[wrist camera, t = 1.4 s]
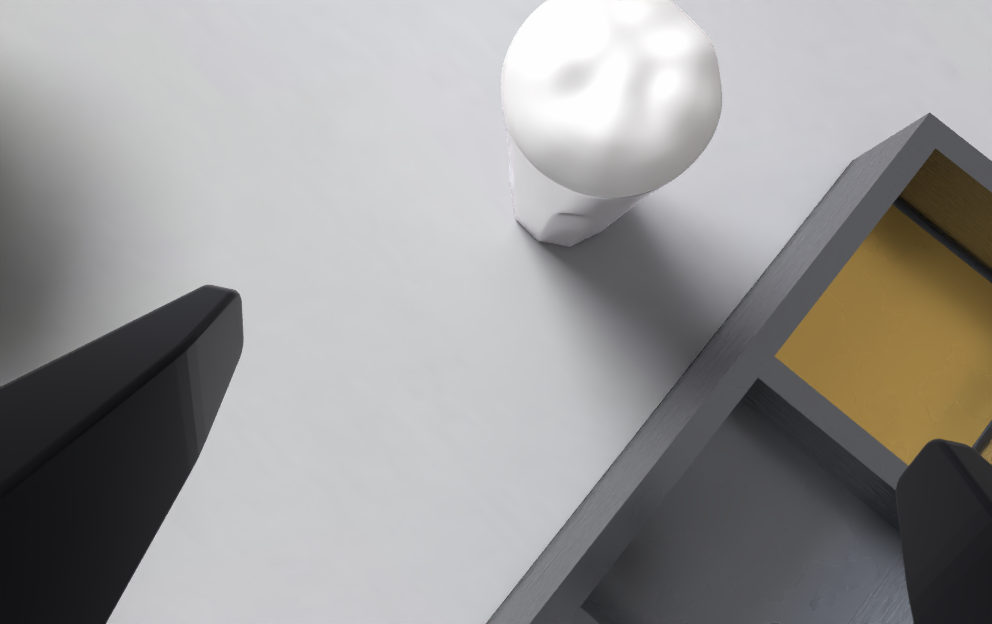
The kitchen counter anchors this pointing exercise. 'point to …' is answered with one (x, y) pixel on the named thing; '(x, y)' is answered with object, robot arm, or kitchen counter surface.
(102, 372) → the robot arm
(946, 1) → the kitchen counter surface
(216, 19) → the kitchen counter surface
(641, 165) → the milkshake
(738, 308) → the rack
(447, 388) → the kitchen counter surface
